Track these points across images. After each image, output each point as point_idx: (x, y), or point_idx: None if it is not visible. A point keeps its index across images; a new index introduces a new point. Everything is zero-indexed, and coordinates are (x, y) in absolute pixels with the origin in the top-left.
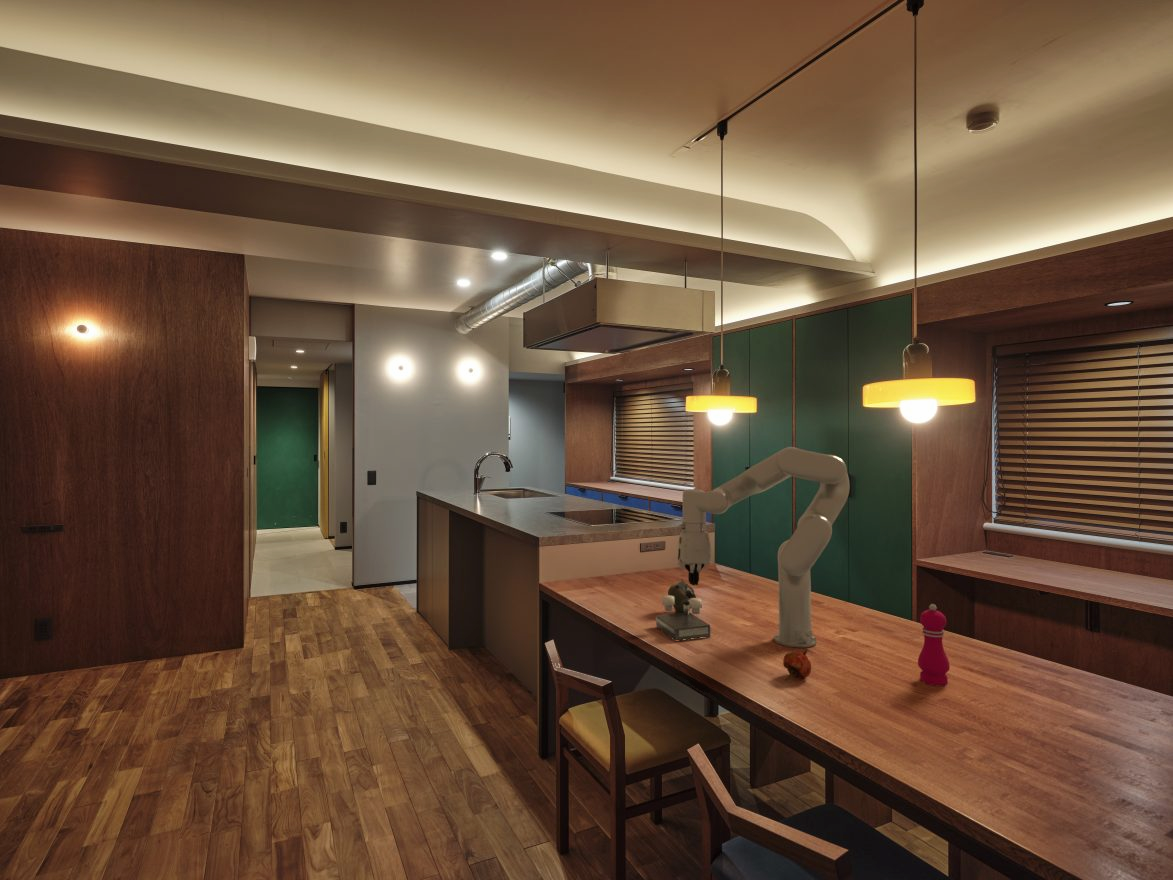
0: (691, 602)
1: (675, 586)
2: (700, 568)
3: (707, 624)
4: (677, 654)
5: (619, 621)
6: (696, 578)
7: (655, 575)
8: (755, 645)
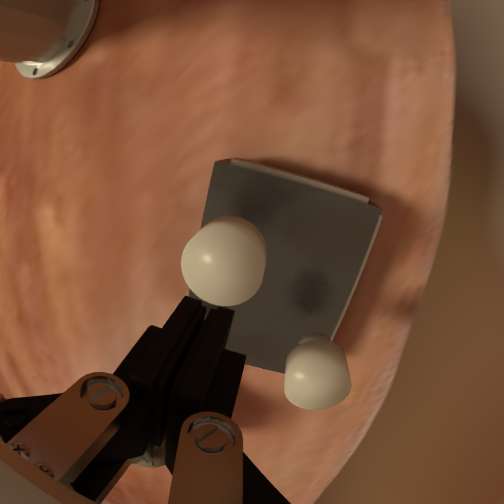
0: (264, 260)
1: (155, 457)
2: (62, 403)
3: (218, 175)
4: (441, 97)
5: (349, 424)
6: (179, 339)
7: (110, 494)
8: (154, 24)
